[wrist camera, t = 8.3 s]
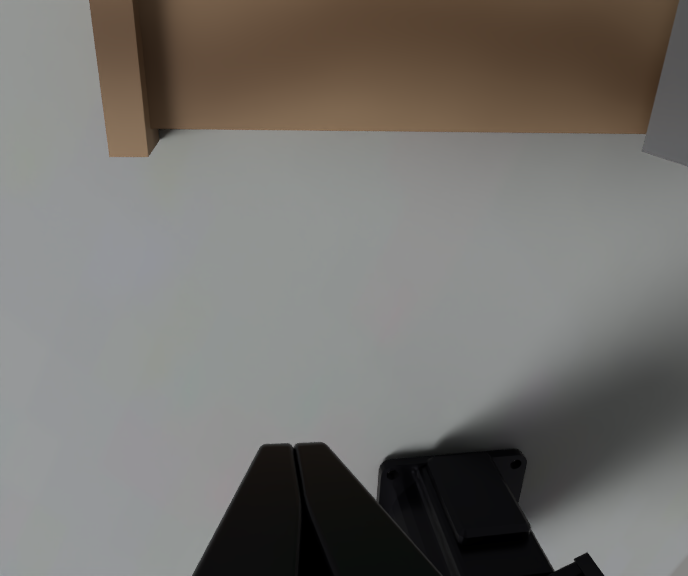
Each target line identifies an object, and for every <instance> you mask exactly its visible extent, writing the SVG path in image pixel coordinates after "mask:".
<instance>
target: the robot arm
mask: <svg viewBox="0 0 688 576" xmlns="http://www.w3.org/2000/svg"><path fill="white" fill-rule="evenodd" d="M514 460H516V461H515V462H513V461H514ZM511 462H512V463H511ZM526 464H527V460H526V458H525V457H524V455H523V454H522V452H521V451H520V450H518V449H509V450H497V451H485V452H473V453H461V454H448V455H436V456H424V457H412V458H400V459H390V460H386V461H385V462H383V463H382V464H381V465H380V468H379V475H378V488H377V501H376V500H375V499H374V497H373V496H372V495H371V494H370V493H369V492H368V491H367V490H366V488H365V487H364V486H363V485H362V484H361V483H360V482H359V481H358V479H357V478H356V477H355V476H354V475H353V474H352V473H351V471H350V470H349V469H348V468H347V467H346V466H345V465H344V464H343V462H342V461H341V460H340V459H339V458H338V457H337V456H336V455H335V453H334V452H333V451H332V450H331V449H330V448H329V447H328V446H327V445H326V444H325V443H323V442H310V443H297V444H296V445H295V446H294V448H293V447H292V445H291V444H288V443H281V444H264V445H262V446H261V447H260V448H259V450H258V452H257V454H256V456H255V457H254V459H253V461H252V463H251V465H250V467H249V469H248V471H247V473H246V475H245V476H244V478H243V480H242V482H241V484H240V486H239V488H238V490H237V492H236V493H235V495H234V497H233V499H232V501H231V503H230V505H229V507H228V509H227V510H226V512H225V514H224V516H223V518H222V520H221V522H220V524H219V526H218V528H217V529H216V531H215V533H214V535H213V537H212V539H211V541H210V543H209V545H208V546H207V548H206V550H205V552H204V554H203V556H202V558H201V560H200V562H199V564H198V565H197V567H196V569H195V571H194V573H193V575H192V576H604V575H603V573H602V572H601V570H600V569H599V568H598V566H597V565H596V564H595V562H594V561H593V559H592V558H591V557H590V555H589V554H588V553H585V554H583V555H581V556H579V557H577V558H575V559H574V561H575V562H573V563H571V564H569V565H567V566H565V567H563V568H561V569H559V570H557V571H554V569H553V567H552V565H551V564H550V562H549V560H548V558H547V557H546V555H545V553H544V551H543V550H542V548H541V546H540V544H539V543H538V541H537V539H536V537H535V536H534V534H533V532H532V530H531V527H530V524H529V522H528V520H527V518H526V517H525V515H524V513H523V511H522V510H521V508H520V506H519V504H518V502H519V497H520V492H521V488H522V483H523V478H524V474H525V469H526ZM392 470H395V471H394V472H392V473H388V472H390V471H392Z"/></svg>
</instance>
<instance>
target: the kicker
mask: <svg viewBox="0 0 688 576" xmlns="http://www.w3.org/2000/svg"><path fill="white" fill-rule="evenodd" d="M642 151H643V152H646V153H649V154H652V155H655V156H658V157H661V158H664V159H667V160H670V161H673V162H676V163H679V164H682V165H685V166H688V0H679V3H678V7H677V11H676V15H675V20H674V24H673V28H672V32H671V36H670V40H669V44H668V48H667V52H666V56H665V60H664V64H663V68H662V72H661V76H660V80H659V84H658V88H657V92H656V96H655V101H654V105H653V109H652V113H651V117H650V121H649V125H648V129H647V133H646V137H645V141H644V145H643V149H642Z"/></svg>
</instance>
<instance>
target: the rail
mask: <svg viewBox="0 0 688 576" xmlns="http://www.w3.org/2000/svg"><path fill="white" fill-rule="evenodd" d="M89 3H90V10H91V18H92V26H93V34H94V41H95V49H96V57H97V64H98V72H99V80H100V87H101V95H102V103H103V110H104V118H105V126H106V134H107V141H108V149H109V157H149V155H150V154H151V152H152V151H153V149H154V148H155V146H156V145H157V143H158V142H159V131H158V129H224V130H320V131H416V132H512V133H609V134H646V133H647V129H648V125H649V121H650V117H651V113H652V109H653V105H654V101H655V96H656V92H657V88H658V84H659V80H660V76H661V72H662V68H663V64H664V60H665V56H666V52H667V48H668V44H669V40H670V36H671V32H672V28H673V24H674V20H675V15H676V11H677V7H678V3H679V0H89Z"/></svg>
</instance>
